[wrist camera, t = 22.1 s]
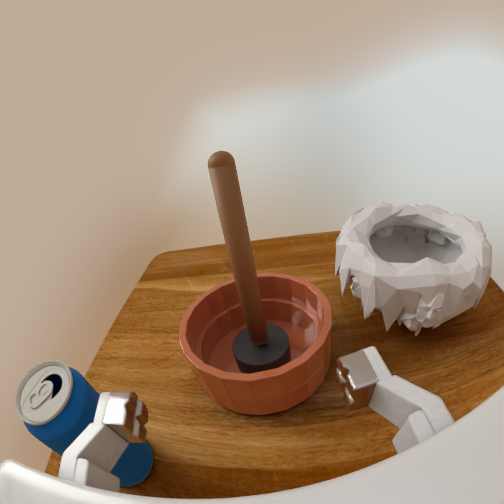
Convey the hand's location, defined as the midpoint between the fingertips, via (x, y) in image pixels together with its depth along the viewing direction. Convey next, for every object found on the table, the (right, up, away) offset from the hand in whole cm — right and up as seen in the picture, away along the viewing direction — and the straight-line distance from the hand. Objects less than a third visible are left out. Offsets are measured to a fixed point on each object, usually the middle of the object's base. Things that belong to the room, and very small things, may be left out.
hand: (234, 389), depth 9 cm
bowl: (+21, -1, +21) cm, 30 cm away
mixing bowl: (+2, -6, +18) cm, 19 cm away
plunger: (+2, -6, +17) cm, 18 cm away
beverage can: (-11, -14, +8) cm, 20 cm away
